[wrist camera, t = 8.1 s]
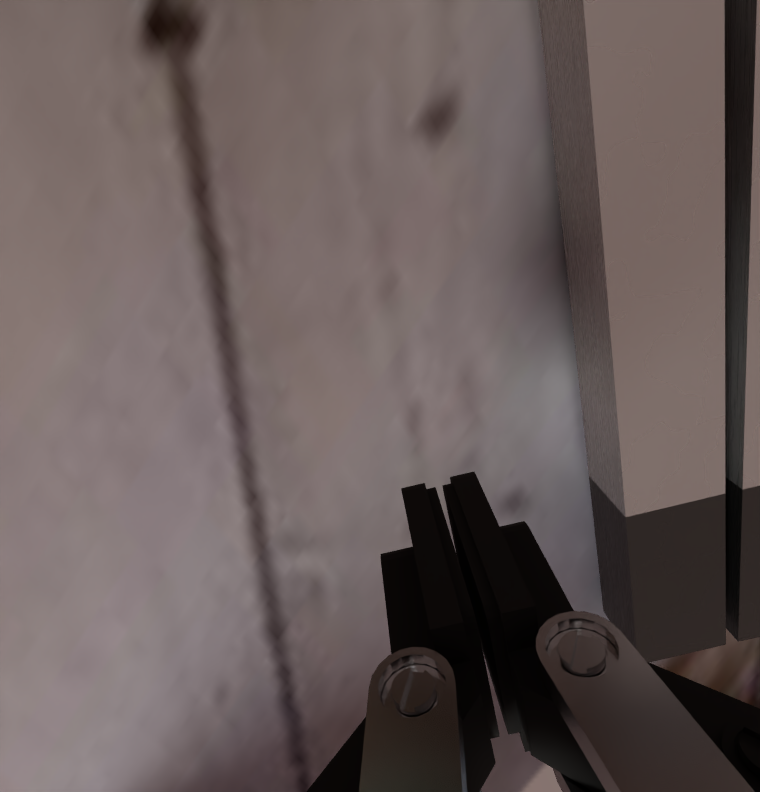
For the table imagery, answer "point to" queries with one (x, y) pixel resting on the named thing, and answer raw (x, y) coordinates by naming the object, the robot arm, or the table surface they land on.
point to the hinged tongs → (742, 317)
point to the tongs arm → (647, 299)
